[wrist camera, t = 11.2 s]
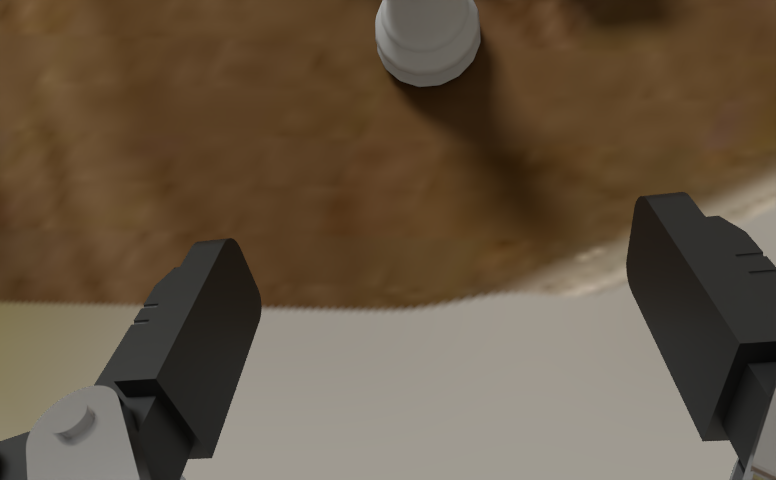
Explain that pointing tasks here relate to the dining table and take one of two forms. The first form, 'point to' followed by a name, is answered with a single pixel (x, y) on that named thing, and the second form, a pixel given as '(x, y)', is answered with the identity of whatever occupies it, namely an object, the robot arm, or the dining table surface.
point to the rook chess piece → (427, 39)
